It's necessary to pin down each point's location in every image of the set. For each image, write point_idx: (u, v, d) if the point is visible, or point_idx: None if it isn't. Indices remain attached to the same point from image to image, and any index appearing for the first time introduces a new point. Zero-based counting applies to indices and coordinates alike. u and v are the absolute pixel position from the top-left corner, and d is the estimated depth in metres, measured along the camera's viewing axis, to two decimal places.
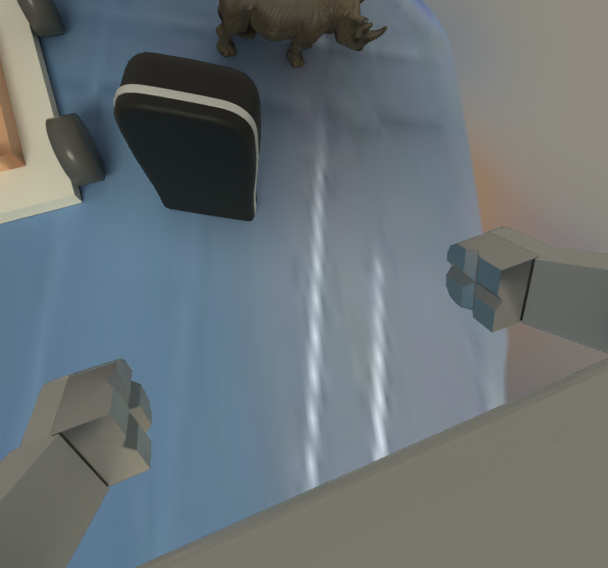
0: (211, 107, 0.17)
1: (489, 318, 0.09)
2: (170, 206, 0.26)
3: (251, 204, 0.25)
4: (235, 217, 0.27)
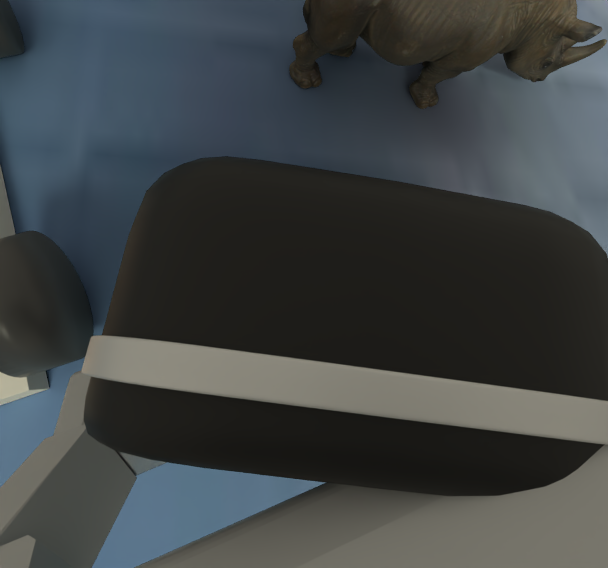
0: (538, 439, 0.04)
1: None
2: None
3: None
4: None
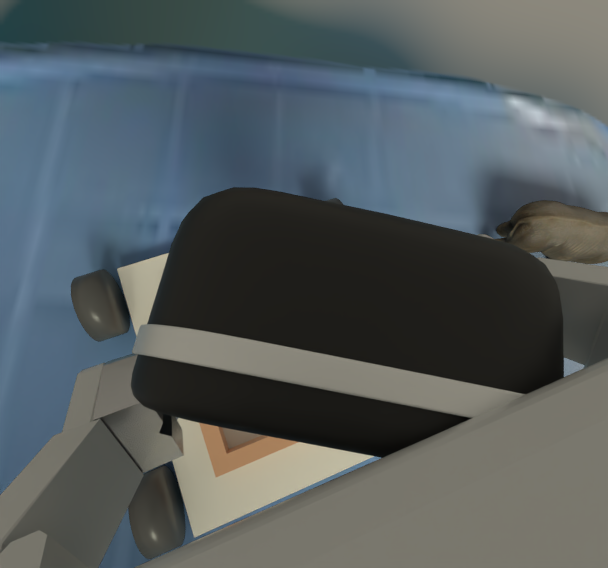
0: None
1: None
2: None
3: None
4: None
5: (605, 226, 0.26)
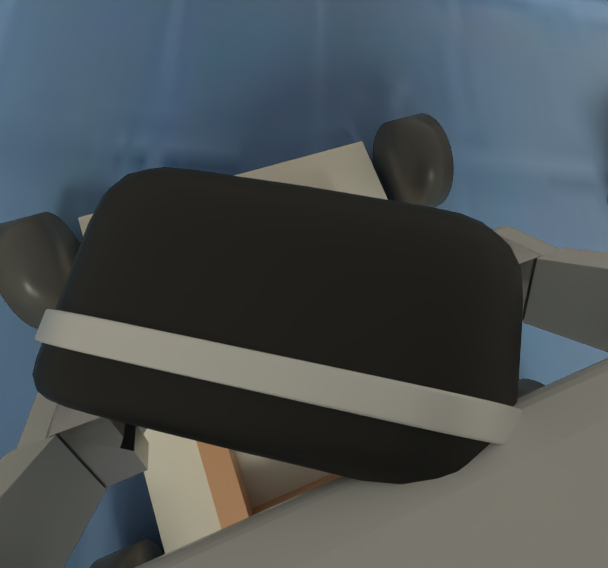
0: (382, 423, 0.04)
1: None
2: None
3: None
4: None
5: None
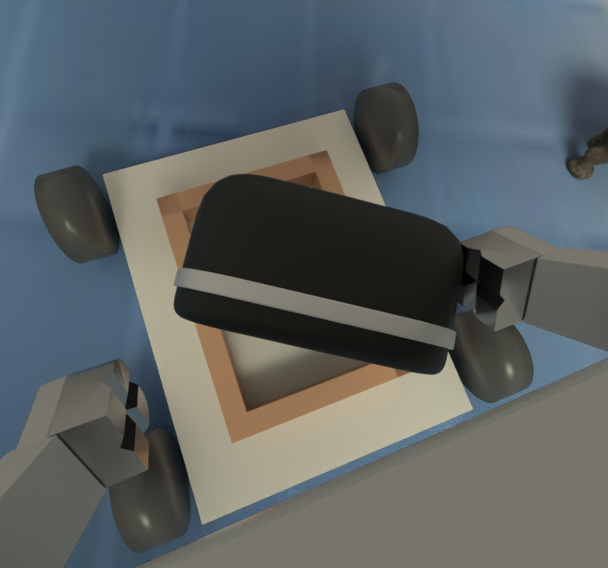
0: (389, 336, 0.08)
1: (491, 317, 0.09)
2: None
3: None
4: None
5: None
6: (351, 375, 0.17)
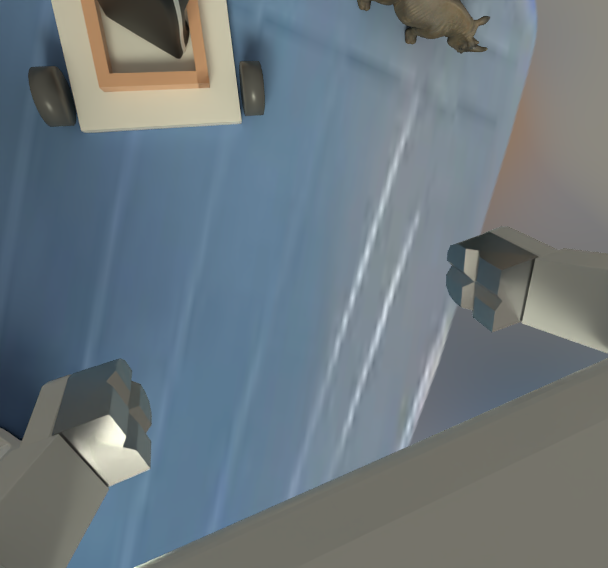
0: None
1: (490, 318, 0.09)
2: (110, 17, 0.30)
3: (177, 47, 0.30)
4: (165, 50, 0.32)
5: None
6: (172, 73, 0.32)
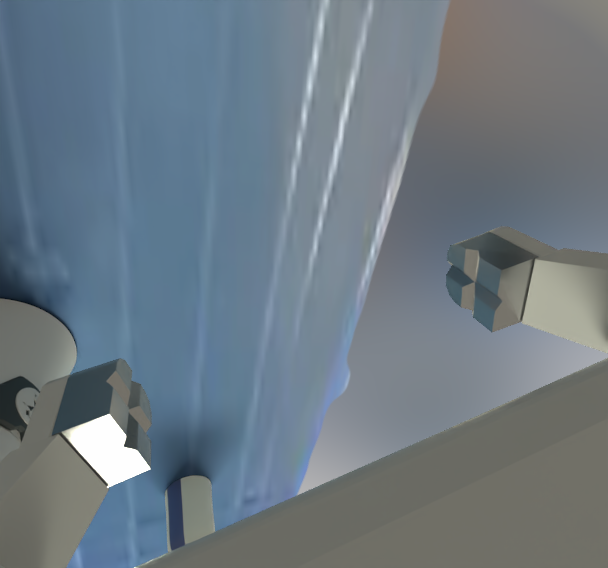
0: None
1: (489, 318, 0.09)
2: None
3: None
4: None
5: None
6: None
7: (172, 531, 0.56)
